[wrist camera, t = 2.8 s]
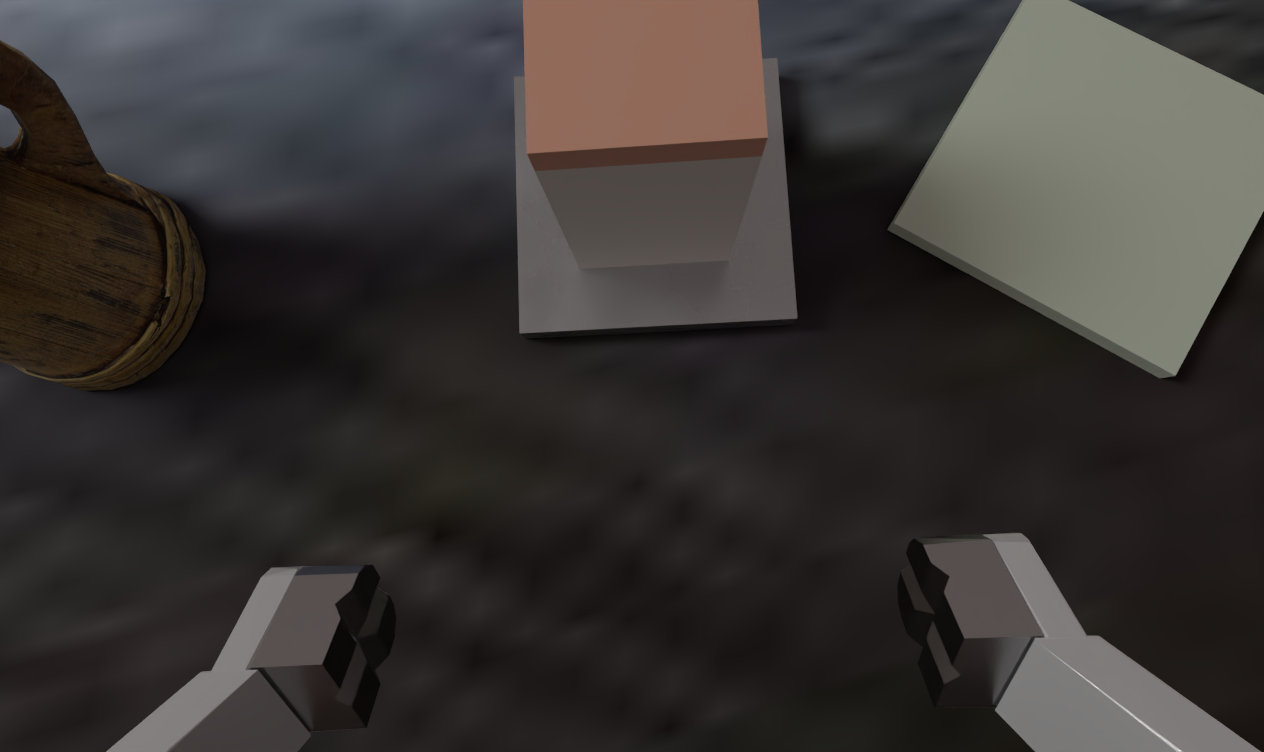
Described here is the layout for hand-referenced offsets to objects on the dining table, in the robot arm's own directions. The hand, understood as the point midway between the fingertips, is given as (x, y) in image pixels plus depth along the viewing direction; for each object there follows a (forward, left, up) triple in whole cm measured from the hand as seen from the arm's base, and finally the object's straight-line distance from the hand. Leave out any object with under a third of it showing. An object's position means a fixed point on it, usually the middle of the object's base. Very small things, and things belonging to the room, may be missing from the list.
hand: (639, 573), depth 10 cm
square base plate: (+11, +7, -16) cm, 20 cm away
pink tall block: (+11, +7, -15) cm, 19 cm away
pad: (+21, -8, -16) cm, 27 cm away
